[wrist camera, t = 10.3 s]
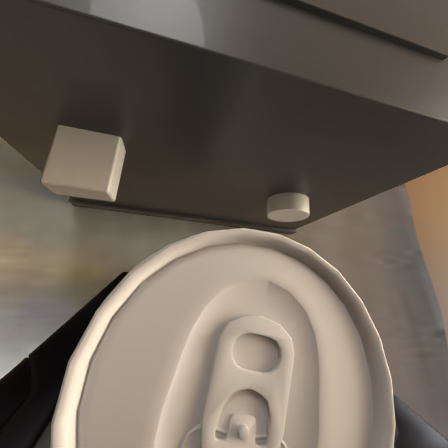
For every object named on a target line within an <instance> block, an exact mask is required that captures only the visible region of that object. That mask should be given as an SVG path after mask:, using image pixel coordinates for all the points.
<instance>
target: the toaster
mask: <svg viewBox="0 0 448 448" xmlns="http://www.w3.org/2000/svg"><path fill="white" fill-rule="evenodd" d="M0 136H1V137H2V138H3V139H4V140H5V141H7V142H8V143H9V144H10V145H11V146H12V147H13V148H15V149H16V150H17V151H18V152H19V153H20V154H21V155H23V156H24V157H25V158H26V159H27V160H28V161H30V162H31V163H32V164H33V165H34V166H35V167H36V168H38V169H39V170H40V171H41V172H42V177H41V180H40V181H41V183H42V184H43V185H44V186H45V187H47V188H48V189H49V190H51V191H52V192H53V193H55V194H60V195H67V196H70V199H69V202H70V203H71V204H72V205H73V206H80V207H87V208H95V209H103V210H110V211H118V212H126V213H133V214H141V215H149V216H156V217H164V218H172V219H180V220H187V221H195V222H203V223H210V224H218V225H226V226H233V227H241V228H249V229H256V230H264V231H272V232H279V233H287V234H293V233H296V232H297V228H299V227H301V226H304V225H306V224H309V223H311V222H313V221H316V220H318V219H320V218H323V217H325V216H328V215H330V214H332V213H335V212H337V211H339V210H342V209H344V208H347V207H349V206H351V205H354V204H356V203H358V202H361V201H363V200H366V199H368V198H370V197H373V196H375V195H377V194H380V193H382V192H385V191H387V190H389V189H392V188H394V187H396V186H399V185H401V184H404V183H406V182H408V181H411V180H413V179H415V178H418V177H420V176H423V175H425V174H427V173H430V172H432V171H434V170H437V169H439V168H441V167H444V166H446V165H448V0H0Z"/></svg>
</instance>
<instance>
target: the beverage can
mask: <svg viewBox="0 0 448 448" xmlns="http://www.w3.org/2000/svg"><path fill="white" fill-rule="evenodd" d="M395 427H396V424H395V412H394V401H393V390H392V379H391V375H390V371H389V368H388V364H387V360H386V357H385V353H384V350H383V346H382V342H381V339H380V336H379V334H378V332H377V330H376V328H375V326H374V324H373V322H372V320H371V318H370V316H369V314H368V312H367V310H366V308H365V306H364V304H363V302H362V300H361V299H360V298H359V296H358V295H357V294H356V293H355V291H354V290H353V289H352V287H351V286H350V285H349V284H348V282H347V281H346V280H345V278H344V277H343V276H342V275H341V273H340V272H339V271H338V270H337V269H335V268H334V267H333V266H332V265H330V264H329V263H328V262H327V261H325V260H324V259H323V258H322V257H320V256H319V255H318V254H317V253H315V252H314V251H313V250H312V249H310V248H308V247H306V246H304V245H301V244H299V243H297V242H295V241H293V240H291V239H289V238H287V237H284V236H282V235H280V234H276V233H270V232H265V231H259V230H253V229H248V228H238V229H226V230H215V231H206V232H204V233H198V234H195V235H193V236H190V237H187V238H185V239H182V240H179V241H176V242H174V243H171V244H168V245H166V246H164V247H163V248H161V249H160V250H158V251H157V252H155V253H154V254H152V255H151V256H149V257H148V258H147V259H145V260H144V261H142V262H141V263H139V264H138V265H136V266H135V267H133V268H132V269H131V270H130V272H129V273H128V274H127V275H126V276H125V277H124V278H123V279H122V281H121V282H120V283H119V284H118V285H117V286H116V287H115V288H114V290H113V291H112V292H111V293H110V294H109V295H108V296H107V297H106V299H105V300H104V301H103V303H102V304H101V306H100V307H99V308H98V309H97V310H96V312H95V314H94V316H93V318H92V319H91V321H90V323H89V325H88V327H87V328H86V330H85V332H84V334H83V336H82V338H81V339H80V341H79V343H78V345H77V347H76V349H75V350H74V352H73V354H72V356H71V358H70V359H69V361H68V365H67V368H66V372H65V375H64V379H63V383H62V386H61V390H60V394H59V397H58V401H57V405H56V408H55V412H54V415H53V419H52V423H51V445H50V448H394V437H395Z"/></svg>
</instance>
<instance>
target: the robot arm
mask: <svg viewBox="0 0 448 448" xmlns="http://www.w3.org/2000/svg"><path fill="white" fill-rule="evenodd" d="M128 273H129V272H123V273H121V274H120V275H119V276H118V277H117V278H116V279H114V280H113V281H112V282H111V283H110V284H109V285H108V286H107V287H105V288H104V289H103V290H102V291H101V292H100V293H99V294H97V295H96V296H95V297H94V298H93V299H92V300H91V301H90V302H88V303H87V304H86V305H85V306H84V307H83V308H82V309H80V310H79V311H78V312H77V313H76V314H75V315H74V316H73V317H71V318H70V319H69V320H68V321H67V322H66V323H65V324H63V325H62V326H61V327H60V328H59V329H58V330H57V331H56V332H54V333H53V334H52V335H51V336H50V337H49V338H48V339H46V340H45V341H44V342H43V343H42V344H41V345H40V346H39V347H37V348H36V349H35V350H34V351H33V352H32V353H31V354H29V358H25V359H24V360H22V361H21V362H20V363H19V364H18V365H17V366H16V367H15V368H13V369H12V370H11V371H10V372H9V373H8V374H6V375H5V376H4V377H3V378H2V379H1V380H0V448H50V445H51V423H52V419H53V415H54V412H55V408H56V405H57V401H58V397H59V394H60V390H61V386H62V383H63V379H64V375H65V372H66V368H67V365H68V361H69V359H70V358H71V356H72V354H73V352H74V350H75V349H76V347H77V345H78V343H79V341H80V339H81V338H82V336H83V334H84V332H85V330H86V328H87V327H88V325H89V323H90V321H91V319H92V318H93V316H94V314H95V312H96V310H97V309H98V308H99V307H100V306H101V304H102V303H103V301H104V300H105V299H106V297H107V296H108V295H109V294H110V293H111V292H112V291H113V290H114V288H115V287H116V286H117V285H118V284H119V283H120V282H121V281H122V279H123V278H124V277H125V276H126V275H127V274H128ZM393 401H394V412H395V424H396V427H395V437H394V448H448V440H447V439H446V438H445V437H444V436H442V435H441V434H440V433H439V432H438V431H437V430H435V429H434V428H433V427H432V426H431V425H429V424H428V423H427V422H426V421H425V420H423V419H422V418H421V417H420V416H419V415H418V414H416V413H415V412H414V411H413V410H412V409H410V408H409V407H408V406H407V405H406V404H405V403H403V402H402V401H401V400H400V399H399V398H397V397H396V396H395V395H394V394H393Z"/></svg>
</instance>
